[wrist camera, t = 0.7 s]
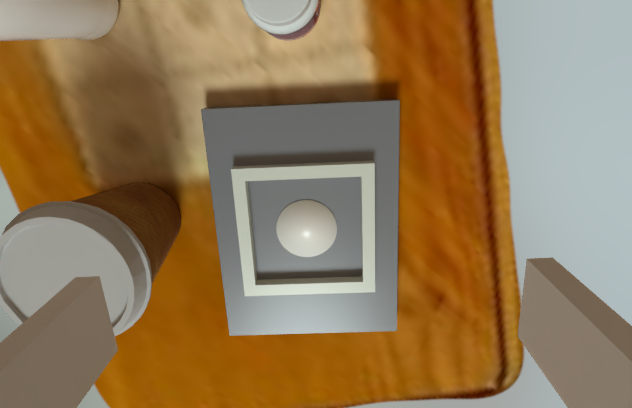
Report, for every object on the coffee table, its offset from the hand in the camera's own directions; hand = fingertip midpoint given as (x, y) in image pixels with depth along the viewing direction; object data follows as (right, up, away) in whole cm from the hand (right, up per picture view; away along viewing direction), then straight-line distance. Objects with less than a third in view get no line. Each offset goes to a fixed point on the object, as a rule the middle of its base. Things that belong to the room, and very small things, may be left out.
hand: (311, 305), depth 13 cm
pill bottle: (-2, +18, +18) cm, 26 cm away
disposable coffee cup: (-15, +2, +23) cm, 28 cm away
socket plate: (-1, +2, +23) cm, 23 cm away
